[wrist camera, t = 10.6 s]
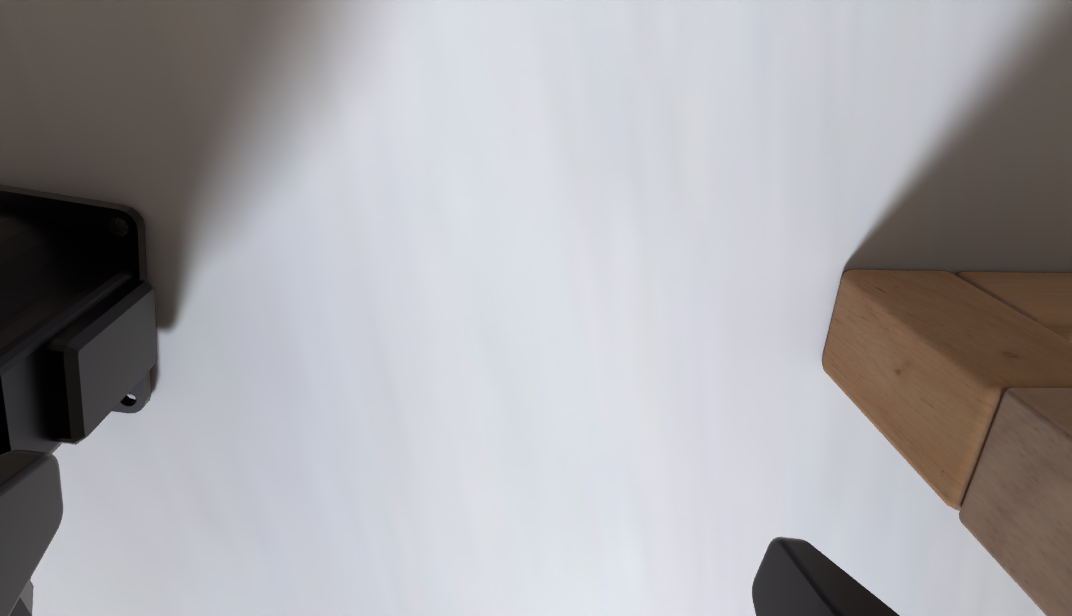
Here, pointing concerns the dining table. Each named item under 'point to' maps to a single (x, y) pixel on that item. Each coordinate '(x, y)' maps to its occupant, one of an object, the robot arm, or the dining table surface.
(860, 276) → the wooden block
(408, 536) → the dining table surface
